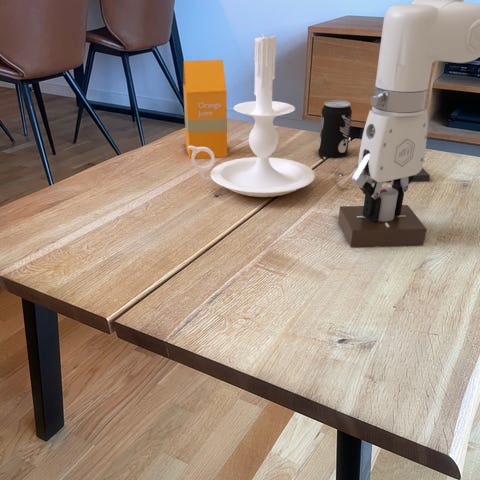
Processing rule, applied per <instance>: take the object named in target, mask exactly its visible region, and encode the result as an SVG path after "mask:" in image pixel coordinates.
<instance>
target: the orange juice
mask: <svg viewBox="0 0 480 480" xmlns="http://www.w3.org/2000/svg"><path fill="white" fill-rule="evenodd" d="M182 80H183V81H182V82H183V83H182V84H183V85H182V87H183V88H182V89H183V105H184V106H183V108H184V109H183V110H184V112H183V113H184V124H185V125H184V126H185V127H184V128H185V147H186V151H187V154H188V155H187V156H188V158H189V159H190V160H191V157H192V153H193V151H192V150H191V149H189V148H188V146H194V147H207V148H209V149H210V150H211V151H212V152H213V154H214V157H215V158H227V157H228V117H227V116H228V111H227V110H228V109H227V107H228V106H227V103H228V102H227V101H228V100H227V99H228V98H227V86H226V75H225V66H224V59H203V60H202V59H201V60H200V59H199V60H183V79H182ZM195 159H211V156H210V154H209V153H207V152H205V151H200V152H198V153H197V154H196V155H195Z"/></svg>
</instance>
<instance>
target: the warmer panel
mask: <svg viewBox="0 0 480 480" xmlns="http://www.w3.org/2000/svg"><path fill="white" fill-rule="evenodd" d="M363 207H364V205H340V206H339V211H338V219H337V222H338V225H339V227H340V229H341V231H342V233H343V235H344V237H345V239H346V241H347V244H348V245H349V247H350V248H380V247H381V248H383V247H389V248H390V247H424V245H425V241H426V240H425V239H426V234H427V227H426V226H425V225H424V223H423V222H422V221H421V220H420V219H419V217H418V216H417V215H416V213H415V212H414V211H413V210H412V208H411V207H410V206H409V205H408V204H402V208H401V214H400V215H399V216H396V215H394V219H393V220H391V221H386V222H382V221H376V222H373V221H371V220H369V219H368V218H366V217H364V216H363Z"/></svg>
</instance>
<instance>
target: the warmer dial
mask: <svg viewBox="0 0 480 480" xmlns="http://www.w3.org/2000/svg"><path fill="white" fill-rule="evenodd" d="M391 187H392V186H382V187H381V191H380V194H379V198H381V205H380V212H379V218H378V221H382V222H386V221H391V220H393V219H394V214H395V208H396V203H397V197H398V191H397V190H396V189H394V188H391Z"/></svg>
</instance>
